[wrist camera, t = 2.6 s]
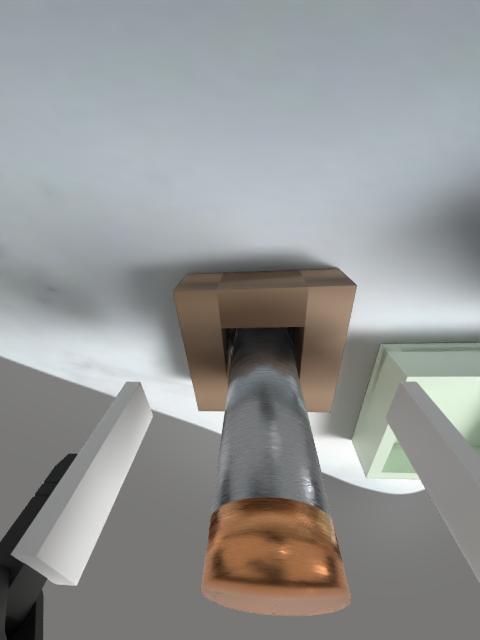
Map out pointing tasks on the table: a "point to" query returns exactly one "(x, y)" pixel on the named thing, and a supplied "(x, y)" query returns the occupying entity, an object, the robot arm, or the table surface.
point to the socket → (260, 312)
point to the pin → (270, 493)
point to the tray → (440, 385)
